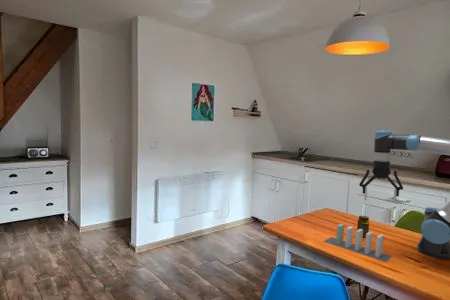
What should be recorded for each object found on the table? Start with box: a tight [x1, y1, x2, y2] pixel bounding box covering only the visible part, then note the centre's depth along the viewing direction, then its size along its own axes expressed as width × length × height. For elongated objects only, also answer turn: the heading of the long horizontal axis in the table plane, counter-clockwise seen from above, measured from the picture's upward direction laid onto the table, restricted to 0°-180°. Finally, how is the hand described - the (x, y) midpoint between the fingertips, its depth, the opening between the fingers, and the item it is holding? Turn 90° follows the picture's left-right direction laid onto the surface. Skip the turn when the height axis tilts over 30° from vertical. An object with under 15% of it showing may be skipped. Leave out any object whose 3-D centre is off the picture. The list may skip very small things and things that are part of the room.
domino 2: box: [344, 225, 354, 248], centre depth 162 cm, size 2×5×10 cm, turn 135°
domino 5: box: [374, 233, 384, 257], centre depth 151 cm, size 2×5×10 cm, turn 135°
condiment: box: [356, 215, 370, 239], centre depth 176 cm, size 7×8×12 cm
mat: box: [322, 236, 393, 263], centre depth 159 cm, size 32×10×1 cm, turn 45°
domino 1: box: [335, 223, 345, 245], centre depth 165 cm, size 2×5×10 cm, turn 135°
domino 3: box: [354, 229, 364, 251], centre depth 158 cm, size 2×5×10 cm, turn 135°
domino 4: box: [364, 231, 374, 254], centre depth 155 cm, size 2×5×10 cm, turn 135°
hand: (379, 201), depth 159 cm, fingers open, 13 cm apart
